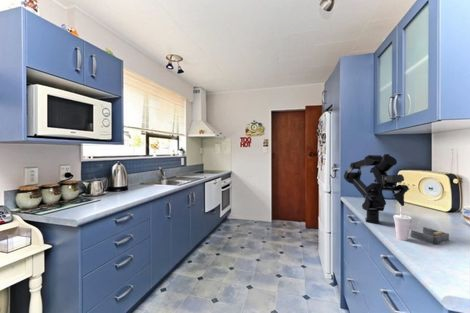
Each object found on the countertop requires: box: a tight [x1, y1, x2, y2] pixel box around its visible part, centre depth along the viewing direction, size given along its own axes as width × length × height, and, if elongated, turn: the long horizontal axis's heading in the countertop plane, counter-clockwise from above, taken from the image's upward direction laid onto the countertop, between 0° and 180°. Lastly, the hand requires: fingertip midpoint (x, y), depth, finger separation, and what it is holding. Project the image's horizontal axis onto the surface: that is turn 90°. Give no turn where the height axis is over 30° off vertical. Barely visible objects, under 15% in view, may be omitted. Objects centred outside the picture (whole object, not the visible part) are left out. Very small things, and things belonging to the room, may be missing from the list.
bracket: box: [410, 226, 450, 246], centre depth 96 cm, size 9×10×4 cm
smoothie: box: [392, 206, 413, 241], centre depth 96 cm, size 6×6×14 cm
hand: (394, 205), depth 103 cm, fingers open, 9 cm apart
